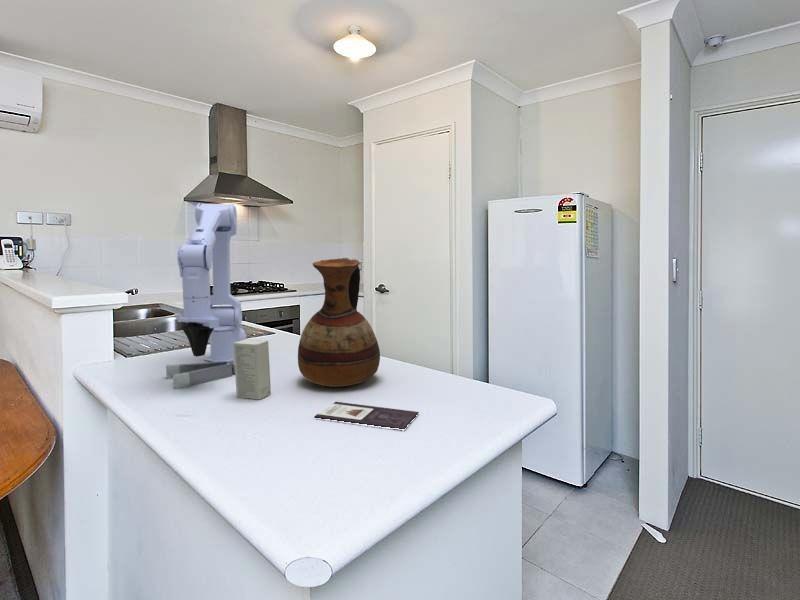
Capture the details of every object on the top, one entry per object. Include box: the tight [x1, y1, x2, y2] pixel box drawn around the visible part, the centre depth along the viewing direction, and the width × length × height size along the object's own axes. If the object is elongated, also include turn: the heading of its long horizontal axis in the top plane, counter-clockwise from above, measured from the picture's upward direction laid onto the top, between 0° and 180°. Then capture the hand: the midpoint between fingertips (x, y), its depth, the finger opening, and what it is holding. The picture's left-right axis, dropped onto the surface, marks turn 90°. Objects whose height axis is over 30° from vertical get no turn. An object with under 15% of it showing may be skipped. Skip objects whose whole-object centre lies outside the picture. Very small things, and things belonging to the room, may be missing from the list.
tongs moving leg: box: [172, 362, 233, 390], centre depth 112 cm, size 14×2×3 cm, turn 142°
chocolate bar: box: [313, 401, 420, 429], centre depth 90 cm, size 9×1×18 cm
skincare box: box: [233, 338, 272, 400], centre depth 101 cm, size 6×4×12 cm
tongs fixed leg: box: [165, 360, 235, 379], centre depth 117 cm, size 18×3×3 cm, turn 110°
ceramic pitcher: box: [297, 257, 381, 388], centre depth 112 cm, size 20×20×30 cm
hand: (199, 355), depth 108 cm, fingers closed
